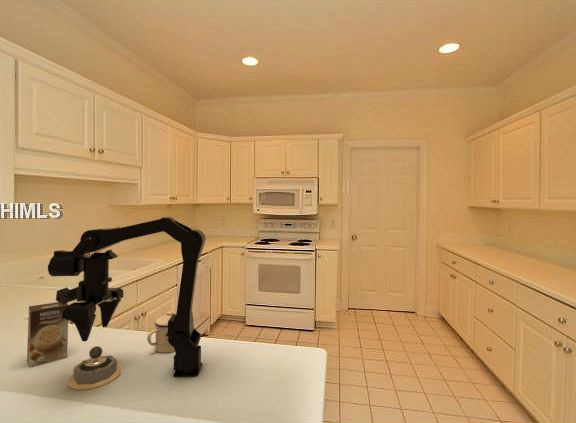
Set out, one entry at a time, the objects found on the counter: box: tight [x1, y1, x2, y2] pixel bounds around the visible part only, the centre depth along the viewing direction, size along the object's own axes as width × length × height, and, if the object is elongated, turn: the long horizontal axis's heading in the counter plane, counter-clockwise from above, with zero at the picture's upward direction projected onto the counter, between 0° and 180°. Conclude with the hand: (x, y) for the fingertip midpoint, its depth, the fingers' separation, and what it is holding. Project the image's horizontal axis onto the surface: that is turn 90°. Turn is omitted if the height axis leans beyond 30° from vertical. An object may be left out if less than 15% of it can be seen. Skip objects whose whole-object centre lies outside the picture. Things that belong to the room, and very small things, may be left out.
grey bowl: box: [67, 355, 122, 391], centre depth 80 cm, size 12×12×4 cm
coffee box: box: [26, 301, 69, 368], centre depth 89 cm, size 9×6×16 cm
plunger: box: [85, 345, 107, 371], centre depth 80 cm, size 5×5×7 cm
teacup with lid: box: [146, 310, 175, 354], centre depth 97 cm, size 12×9×12 cm
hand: (95, 333), depth 80 cm, fingers open, 9 cm apart
